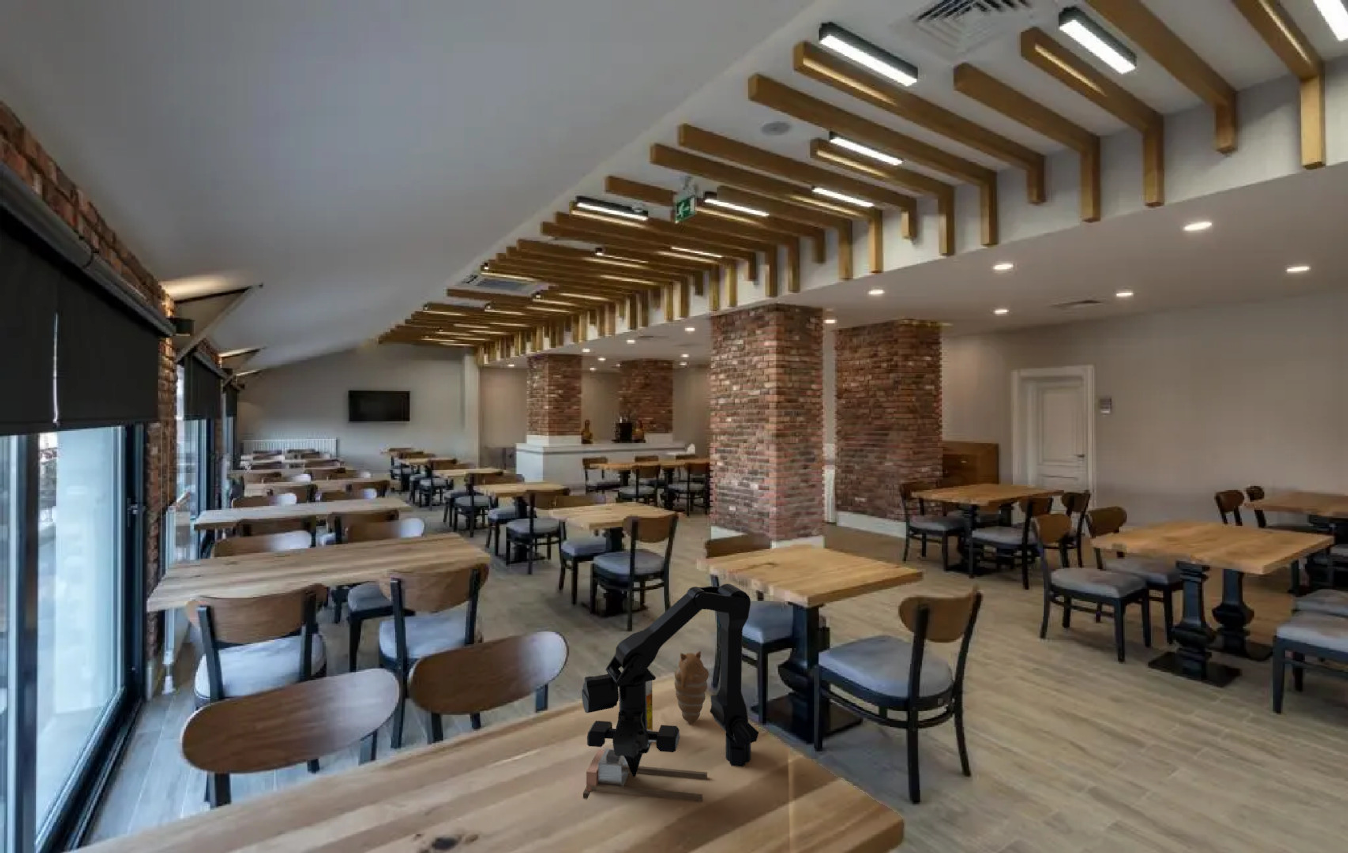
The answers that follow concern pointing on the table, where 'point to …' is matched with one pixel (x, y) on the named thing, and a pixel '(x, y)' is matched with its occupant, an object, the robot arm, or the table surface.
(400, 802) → the table surface
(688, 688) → the cat ice cream
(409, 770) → the table surface
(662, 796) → the guide board
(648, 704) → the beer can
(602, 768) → the block
